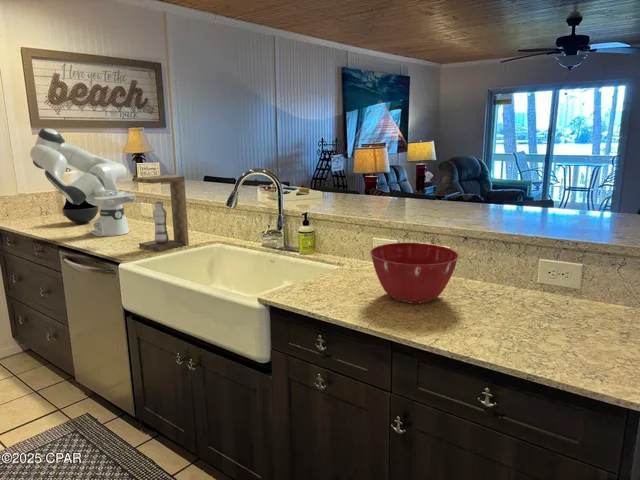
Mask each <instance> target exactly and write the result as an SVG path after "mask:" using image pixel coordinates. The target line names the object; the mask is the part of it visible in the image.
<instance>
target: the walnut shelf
mask: <svg viewBox="0 0 640 480" xmlns="http://www.w3.org/2000/svg"><path fill="white" fill-rule="evenodd" d="M133 181H134V183H139V184H140V183H142V184H150V185H151V184H152V185H153V184H162V183H169V189H170V201H171V202H170V203H171V205H170V206H171V215H172V216H171V217H172V218H171V219H172V233H173V240H172V239H168V242H166V243H162V244H161V243H156V242H155V239H154V240H149V241H145V242H140V243H138V244H139V248H141V249H145V250H149V251H154V252H158V253H161V252H165V251H169V250H173V249H174V248H175V249H179V248H183V246H184V247H188V246H189V244H190V243H189V241H190V239H189V228H188V215H187V214H188V213H187V212H188V211H187V200H186V199H187V198H186V197H187V196H186V183H185V176H183V175H172V174H171V175H170V174H165V175H164V174H163V175H153V176H152V175H151V176H139V177H137V176H136V177H133ZM178 247H179V248H178Z"/></svg>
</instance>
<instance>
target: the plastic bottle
mask: <svg viewBox="0 0 640 480" xmlns="http://www.w3.org/2000/svg"><path fill="white" fill-rule="evenodd" d="M154 207H155V208H153V209H154V210H153V211H152V217H153V223H154V240H155V242H156V243H161V244H162V243H166V242H168V239H169V234H168V229H167V211H166V210H165V208H164V202H163V201H155V202H154ZM169 240H170V239H169Z"/></svg>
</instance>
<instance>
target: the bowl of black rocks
mask: <svg viewBox="0 0 640 480" xmlns="http://www.w3.org/2000/svg"><path fill="white" fill-rule="evenodd" d="M98 212H99V206H94V205H91V204H89V203H88V202H87V201H86V200H84V201H83V202H82V203H81V204H72V203H71V202H69V201H68V200H67V198H66V197H65V203H64V205H63V208H62V213H63V214H64V216H65V217H66V218H67V220H69V221H71V222H72V223H74V224H86V223H90V222H91V221H92V220H94V219H95V218H96V216H97V215H98Z"/></svg>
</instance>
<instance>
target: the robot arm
mask: <svg viewBox="0 0 640 480" xmlns="http://www.w3.org/2000/svg"><path fill="white" fill-rule="evenodd" d="M65 142H66V140H65V138H63V136H62V135H61V133H60V132H58V131H57V130H55V129H53V128H48V127H45V128H41V129H40V130H39V132H38V136H37V138H36V141H35V145H34V146H32V147H31V150H30V152H29V156H30V158H31V159H32V164H33V165H34V166H35V167H36V168H37V169H38V168H39V169H41V170H44V175H45V177H46V179H47V180H48V181H49V182H50V183H51V185H53V186H54V187H55V188H56V189H57V190H58V191H59V192H60V193H61V194H62V195H63V196H64V197H65V199H66V198H67V200H68V201H69V202H71V203H72V204H78V205H79V204H81V203H82V202H83V201H84V200H86V201H87V202H88V203H89V204H91V205H94V206H98V207H100V209H99V210H98V212H99V216H98V218H97V219H96V220H95V222H94V223H93V228H94V229H92V230H90V234H93V235H94V236H97V237H112V236H113V237H114V236H121V235H122V236H123V235H126V234H128V233H129V232H131V229H130V228H129V226H128V225H129V224H128V221H127V220H128V219H127V217H126V216H125V210H124V206H123V204H124V205H125V204H127V203H135V202H136V200H137V199H136V194H134V193H132V192H131V193H130V192H125V191H124V190H118V188H117V185H116V184H117V183H118V182H121V181H123V180H124V179H126V177H127V174H128V169H127V167H126V166H125V165H124V164H123V163H120V162H115V161H113V160H111V159H108V158H104V157H101V156H98V155H96V154H93V153H92V152H90V151H87V150H85V149H83V148H82V147H79V146H78V145H77V146H76V145H74V144H71V143H68V142H66V143H65ZM68 165H69V166H71V167H72V168H74V169H77V170H79V171H81V172H82V173H83V175H81V176H79V178H77V179H75V180H74V181H72V182H71V183H70V184H69V183H68V184H67V183H66V182H65V181H64V180H63V179H62V177H63V175H64V173H66V171H67V167H68Z"/></svg>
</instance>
